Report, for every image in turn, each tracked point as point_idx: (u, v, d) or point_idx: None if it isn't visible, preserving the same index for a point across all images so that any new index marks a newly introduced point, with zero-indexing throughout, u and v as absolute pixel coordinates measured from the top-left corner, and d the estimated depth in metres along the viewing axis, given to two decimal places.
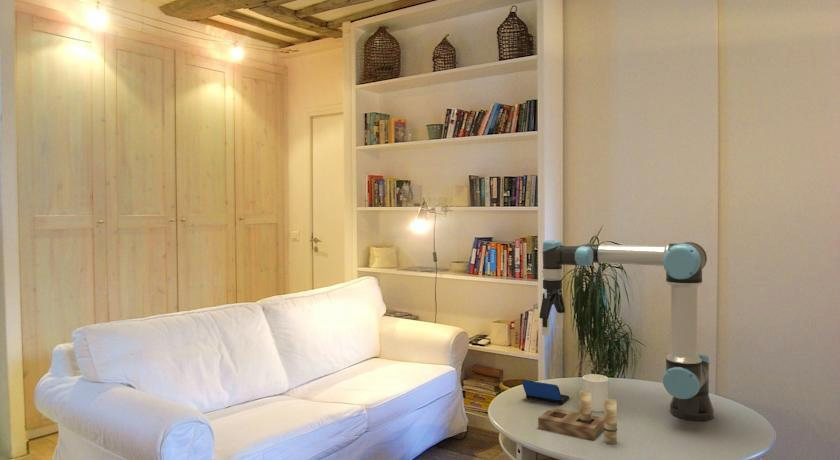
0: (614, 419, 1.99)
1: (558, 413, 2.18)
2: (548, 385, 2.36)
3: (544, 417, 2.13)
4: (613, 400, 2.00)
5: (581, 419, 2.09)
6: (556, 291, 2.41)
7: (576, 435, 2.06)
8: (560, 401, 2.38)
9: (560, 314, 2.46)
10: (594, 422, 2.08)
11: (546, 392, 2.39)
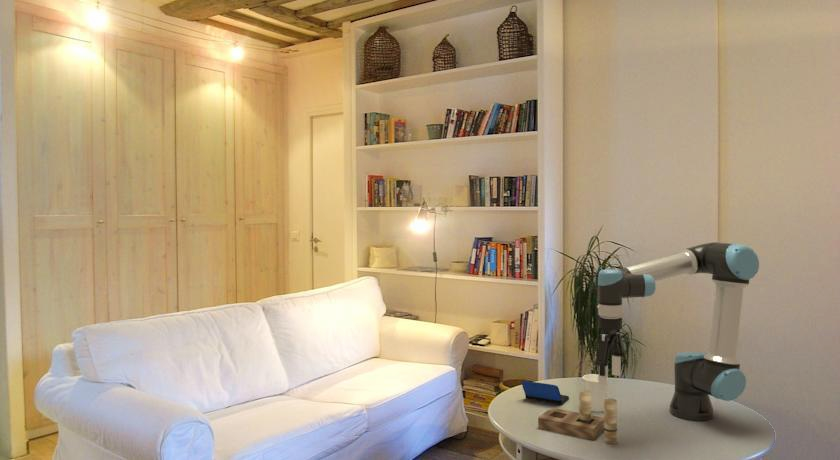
0: (614, 419, 1.99)
1: (558, 413, 2.18)
2: (548, 385, 2.36)
3: (544, 417, 2.13)
4: (613, 400, 2.00)
5: (581, 419, 2.09)
6: (614, 331, 2.00)
7: (576, 435, 2.06)
8: (560, 401, 2.38)
9: (617, 358, 2.05)
10: (594, 422, 2.08)
11: (546, 392, 2.38)
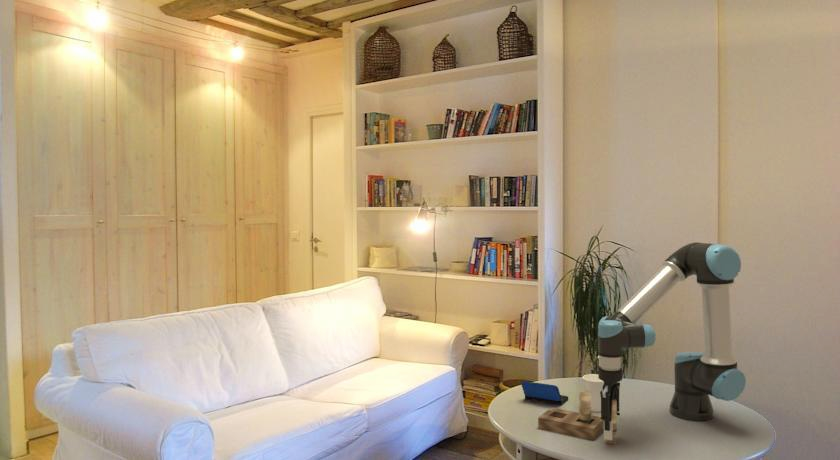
0: (614, 419, 1.99)
1: (558, 413, 2.18)
2: (548, 386, 2.35)
3: (544, 417, 2.13)
4: (613, 400, 2.00)
5: (581, 419, 2.09)
6: None
7: (576, 435, 2.06)
8: (559, 402, 2.37)
9: None
10: (594, 422, 2.08)
11: (546, 393, 2.38)
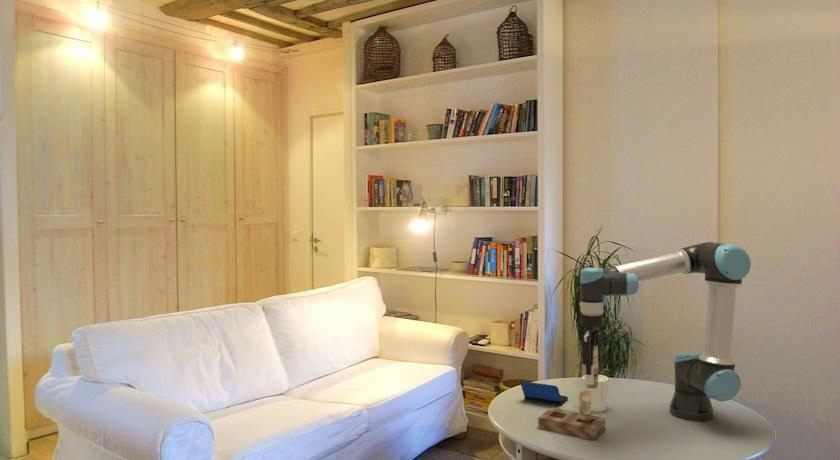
0: (595, 364, 2.03)
1: (558, 413, 2.18)
2: (547, 386, 2.35)
3: (544, 417, 2.13)
4: (594, 346, 2.04)
5: (581, 419, 2.09)
6: None
7: (576, 435, 2.06)
8: (559, 402, 2.37)
9: None
10: (594, 422, 2.08)
11: (546, 393, 2.38)
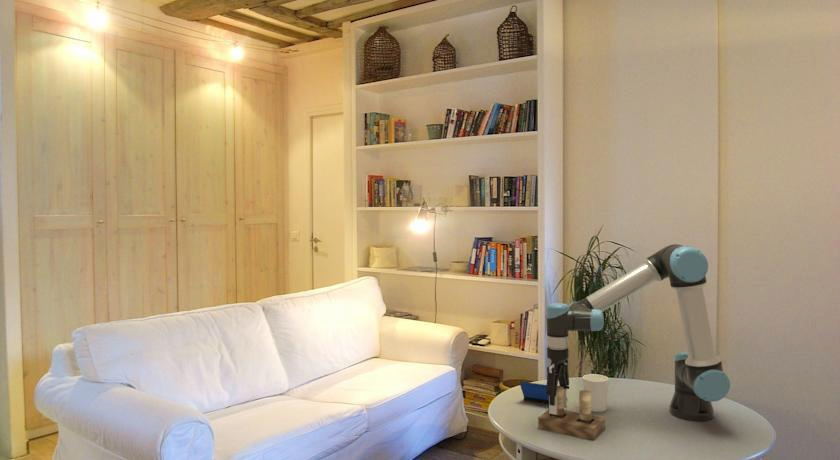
0: (561, 405, 2.14)
1: None
2: None
3: (544, 417, 2.13)
4: (560, 387, 2.15)
5: (581, 419, 2.09)
6: (562, 359, 2.15)
7: (576, 435, 2.06)
8: None
9: (564, 390, 2.18)
10: (594, 422, 2.08)
11: (545, 393, 2.37)
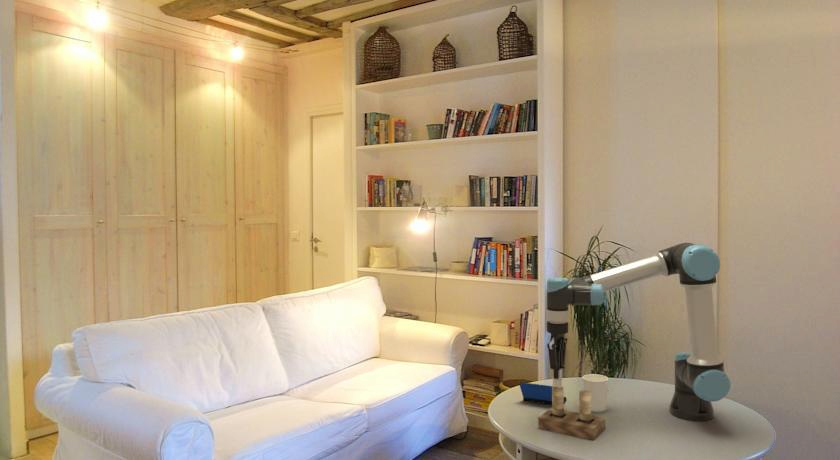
0: (561, 405, 2.14)
1: None
2: (547, 387, 2.34)
3: (544, 417, 2.13)
4: None
5: (581, 419, 2.09)
6: None
7: (576, 435, 2.06)
8: None
9: None
10: (594, 422, 2.08)
11: (545, 394, 2.36)
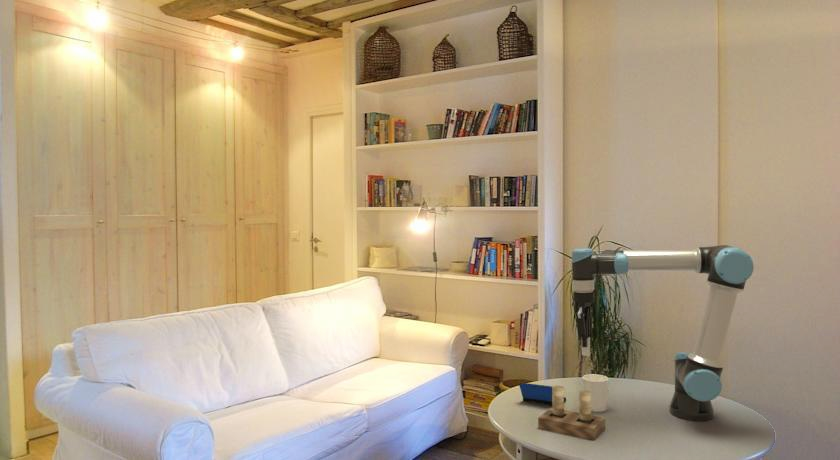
0: (561, 405, 2.14)
1: None
2: (547, 387, 2.33)
3: (544, 417, 2.13)
4: (560, 387, 2.15)
5: (581, 419, 2.09)
6: None
7: (576, 435, 2.06)
8: None
9: None
10: (594, 422, 2.08)
11: (545, 394, 2.36)
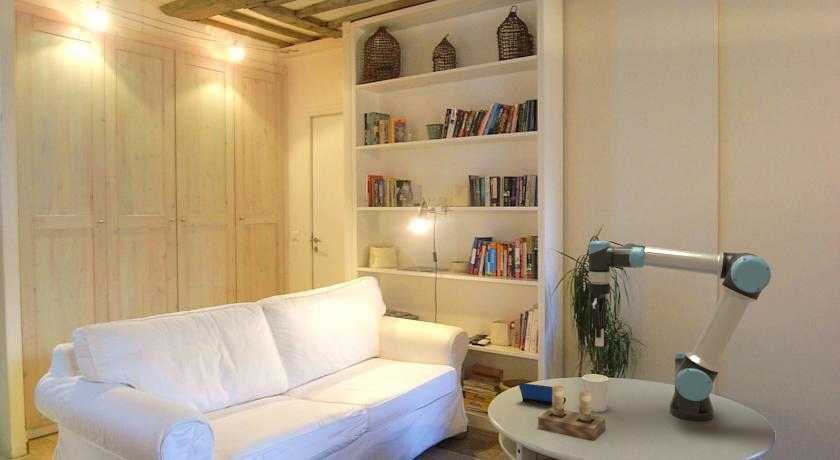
0: (561, 405, 2.14)
1: None
2: (547, 387, 2.33)
3: (544, 417, 2.13)
4: (560, 387, 2.15)
5: (581, 419, 2.09)
6: None
7: (576, 435, 2.06)
8: None
9: None
10: (594, 422, 2.08)
11: (544, 394, 2.36)
